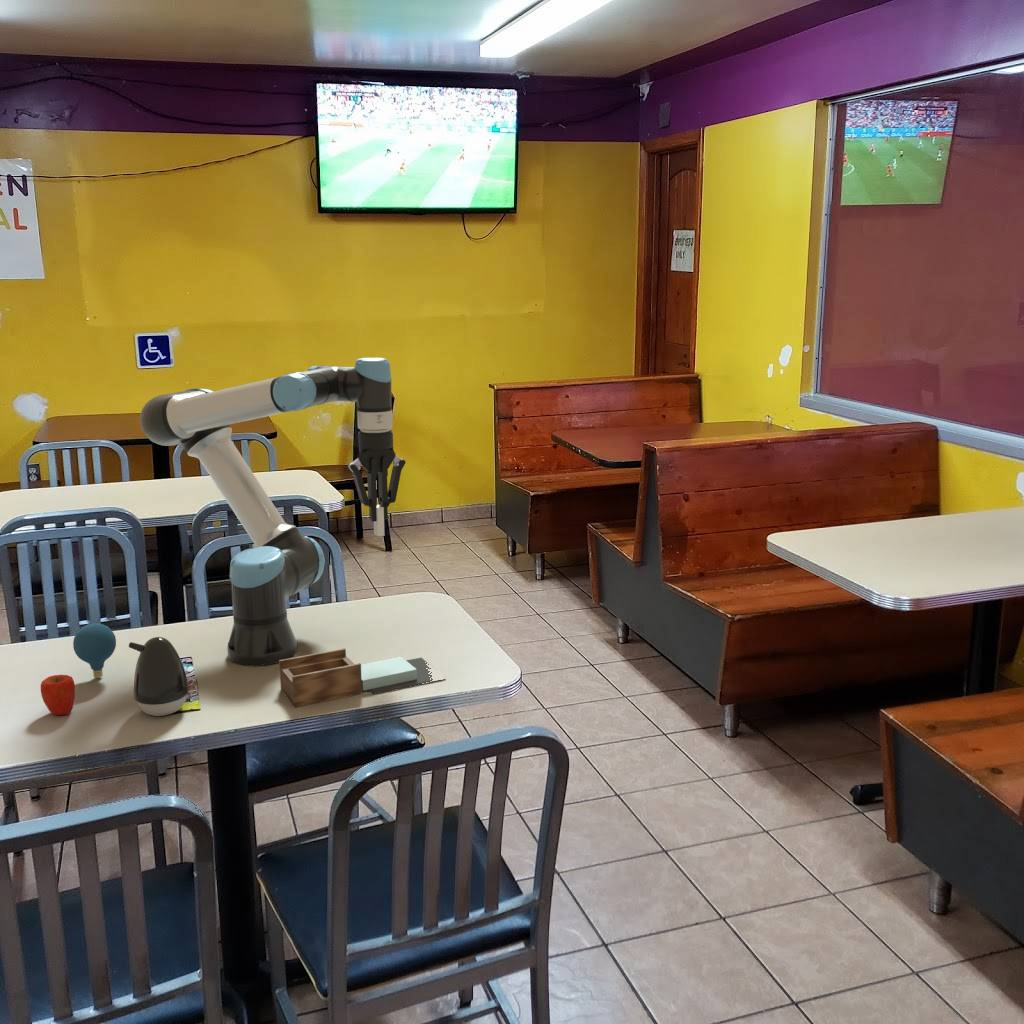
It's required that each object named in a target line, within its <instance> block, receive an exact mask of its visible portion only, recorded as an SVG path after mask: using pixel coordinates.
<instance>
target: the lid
mask: <svg viewBox="0 0 1024 1024" xmlns="http://www.w3.org/2000/svg"><path fill="white" fill-rule="evenodd" d="M361 678H362V692H363V691H368V690H369V689H373V688H378V687H383V686H387V685H392V684H397V683H401V682H406V681H411V680H415V679H417V669H416V668H414V667H413V666H412V665H411V664H410V663H408V662H407V661H406V659H405V658H403V657H402V656H397V657H393V658H387V659H381V660H378V661H373V662H367V663H363V664H362V663H361Z"/></svg>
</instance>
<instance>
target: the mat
mask: <svg viewBox="0 0 1024 1024" xmlns="http://www.w3.org/2000/svg"><path fill="white" fill-rule="evenodd" d="M405 660H406V659H405ZM406 661H407V662H408V663H410V664H411V665H412V666H413V667H414V668H416V669H417V679H415V680H411V681H406V682H401V683H397V684H392V685H387V686H383V687H378V688H373V689H368V690H369V691H370V693H372V694H373V695H377V694H383V693H387V692H392V690H393V691H397V690H396V689H398V690H403V689H406V687H407V688H411V687H410V686H412V687H415V686H414V685H417V686H419V685H418V684H422V683H426V682H430V681H432V680H433V679H432V678H431V677H432V675H430V674H431V673H432V672H431V673H430V674H428V673H429V672H430V671H428V669H431V668H429V667H428V666H427V665H426V664H427V663H428V662H427V661H426V660H425V659H424V658H423V657H417V658H411V659H407V660H406ZM425 662H426V663H425ZM429 664H430V663H429ZM429 664H428V665H429ZM426 668H428V669H426ZM429 676H430V677H429ZM430 678H431V680H430ZM422 685H423V684H422ZM402 688H403V689H402Z"/></svg>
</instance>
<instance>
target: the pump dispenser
mask: <svg viewBox="0 0 1024 1024" xmlns="http://www.w3.org/2000/svg"><path fill="white" fill-rule="evenodd" d="M128 648H130V649H133V650H135V651H137V652H139V656H138V657H137V661H136V665H135V671H134V674H133V675H134V676H133V687H132V688H133V691H132V692H133V699H134V700H135V702H136V703H137V705H138V707H139V709H141V711H142V712H144V713H145V714H147V715H150V716H154V717H165V716H168V715H171V714H173V713H176V712H177V711H179V710H180V709H181V708H182V707H183V706H184V704H185V703H186V700H187V696H188V694H189V690H190V689H189V681H188V678H187V674H186V669H185V666H184V663H183V661H182V659H181V658H180V655H179V652H178V651H177V649H176V648H175V647H174V645H173V644H172V643H171V641H169V640H168V639H167V638H166V637H164V636H154V637H151V638H149V639H148V640H147V641H145V643H144V644H140V643H137V642H136V643H135V642H133V641H130V642H129V643H128Z"/></svg>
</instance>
